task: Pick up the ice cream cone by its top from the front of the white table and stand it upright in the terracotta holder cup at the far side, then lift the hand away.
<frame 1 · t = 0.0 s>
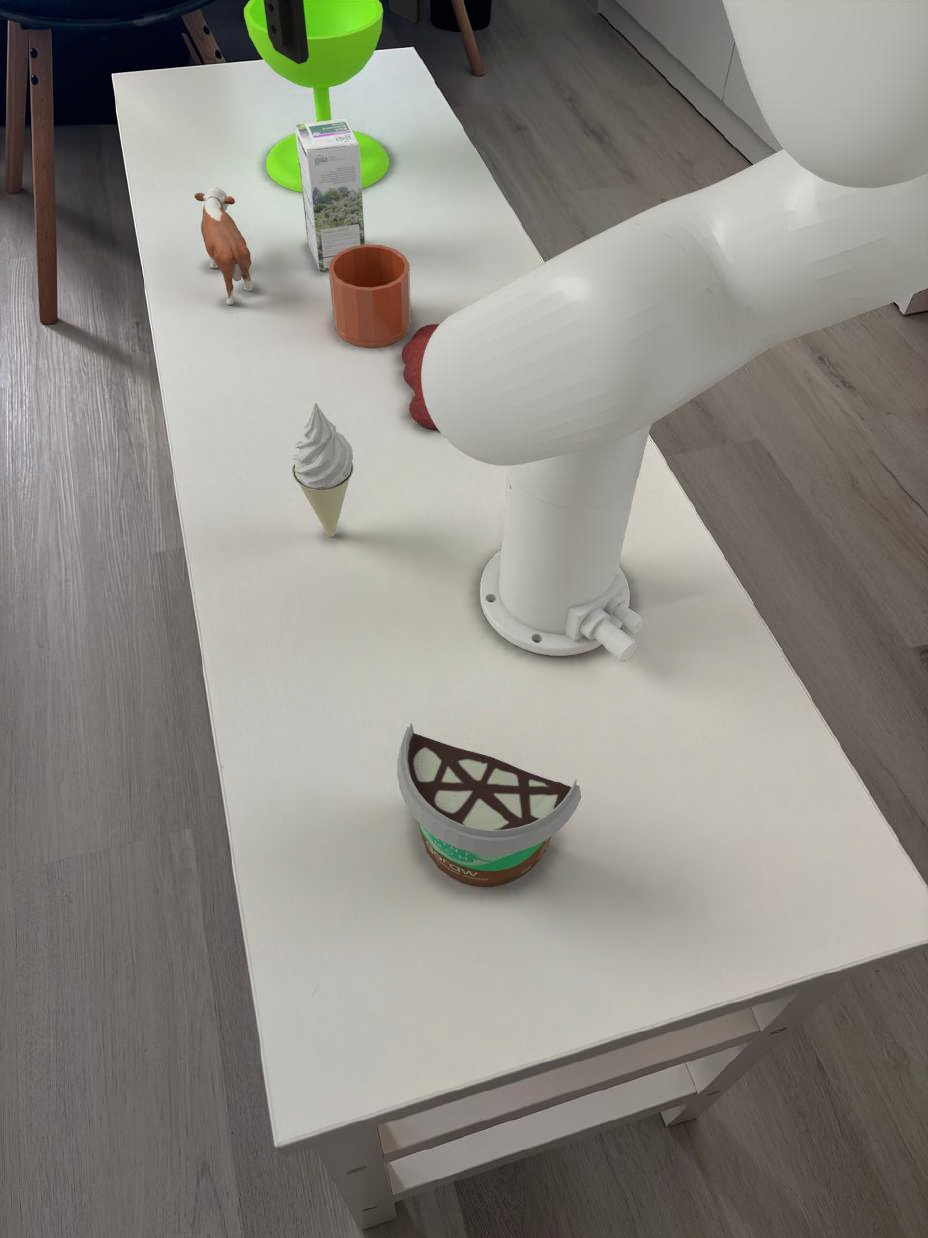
hand: (350, 35, 65), 37 cm above the table, tool pointing down, fingers open, 9 cm apart
ice cream cone: (331, 536, 87), on the table
wineglass: (328, 164, 127), on the table
holder cup: (372, 324, 106), on the table
bull figurine: (231, 279, 111), on the table
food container: (471, 859, 69), on the table
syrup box: (337, 257, 114), on the table
patty: (471, 381, 101), on the table
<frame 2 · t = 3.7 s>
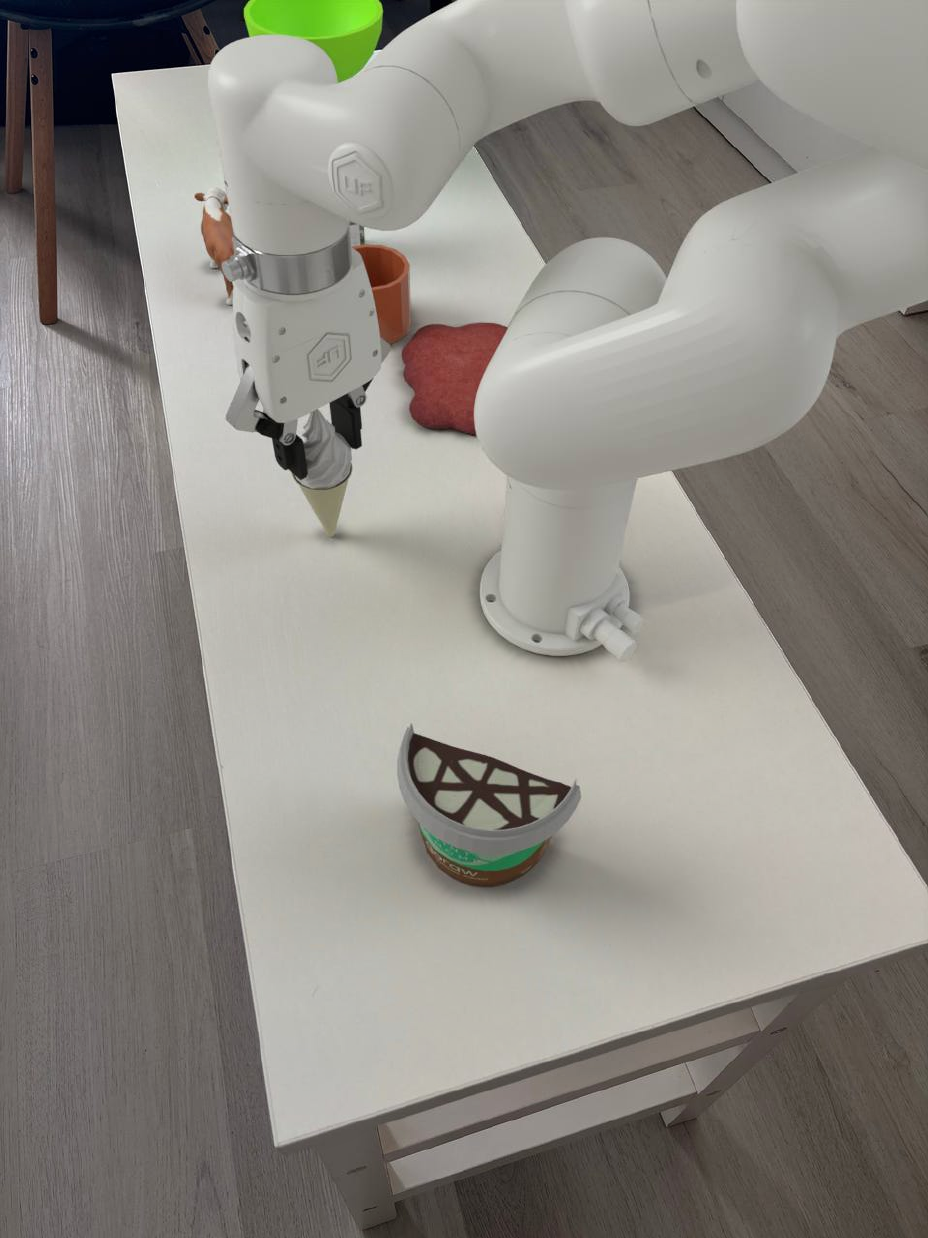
hand: (320, 452, 79), 10 cm above the table, tool pointing down, fingers closed on ice cream cone, 4 cm apart
ice cream cone: (331, 536, 87), on the table, touching gripper
everything else where it was.
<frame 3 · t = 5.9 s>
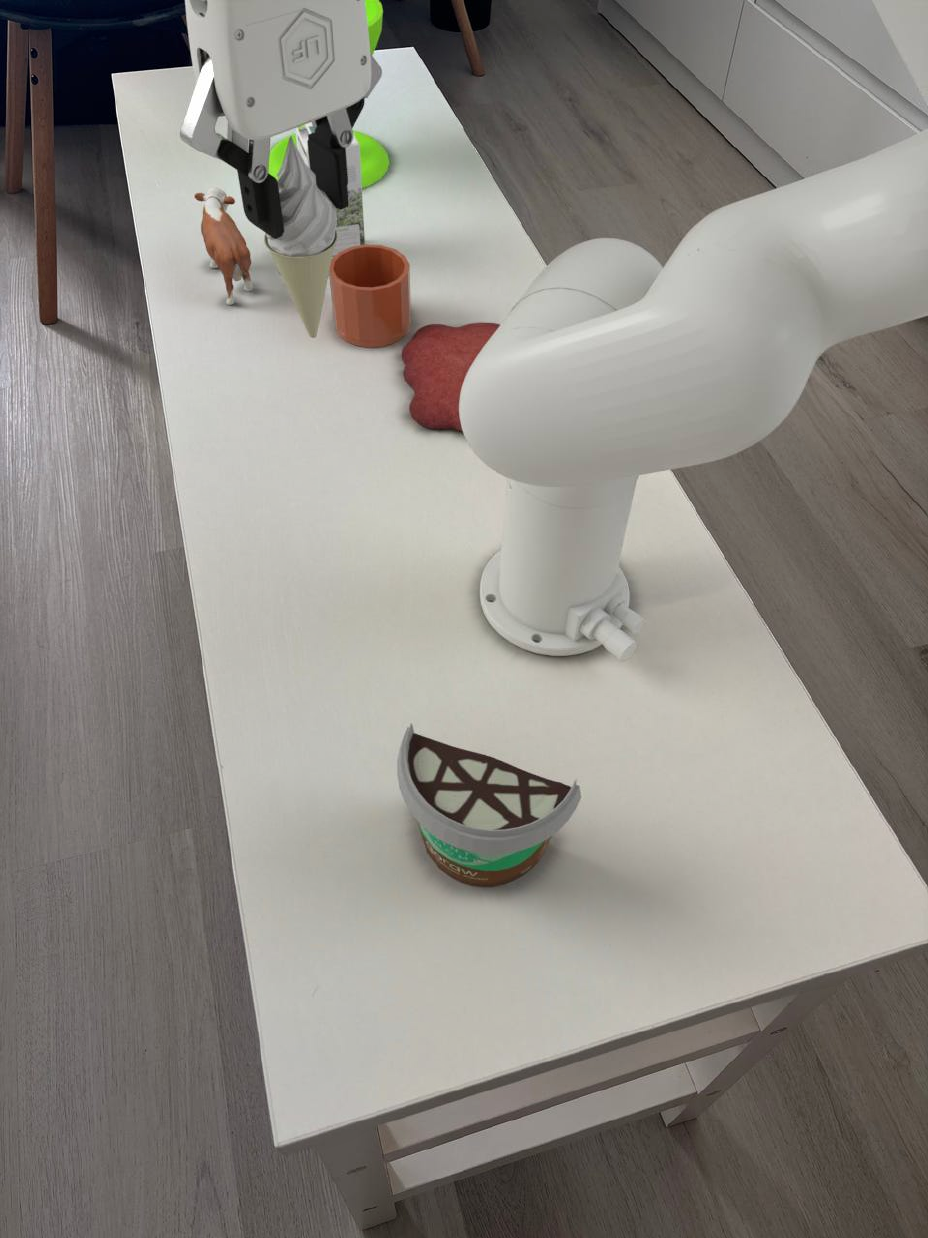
hand: (299, 211, 66), 29 cm above the table, tool pointing down, fingers closed on ice cream cone, 4 cm apart
ice cream cone: (313, 338, 73), point 19 cm above the table, touching gripper
everything else where it was.
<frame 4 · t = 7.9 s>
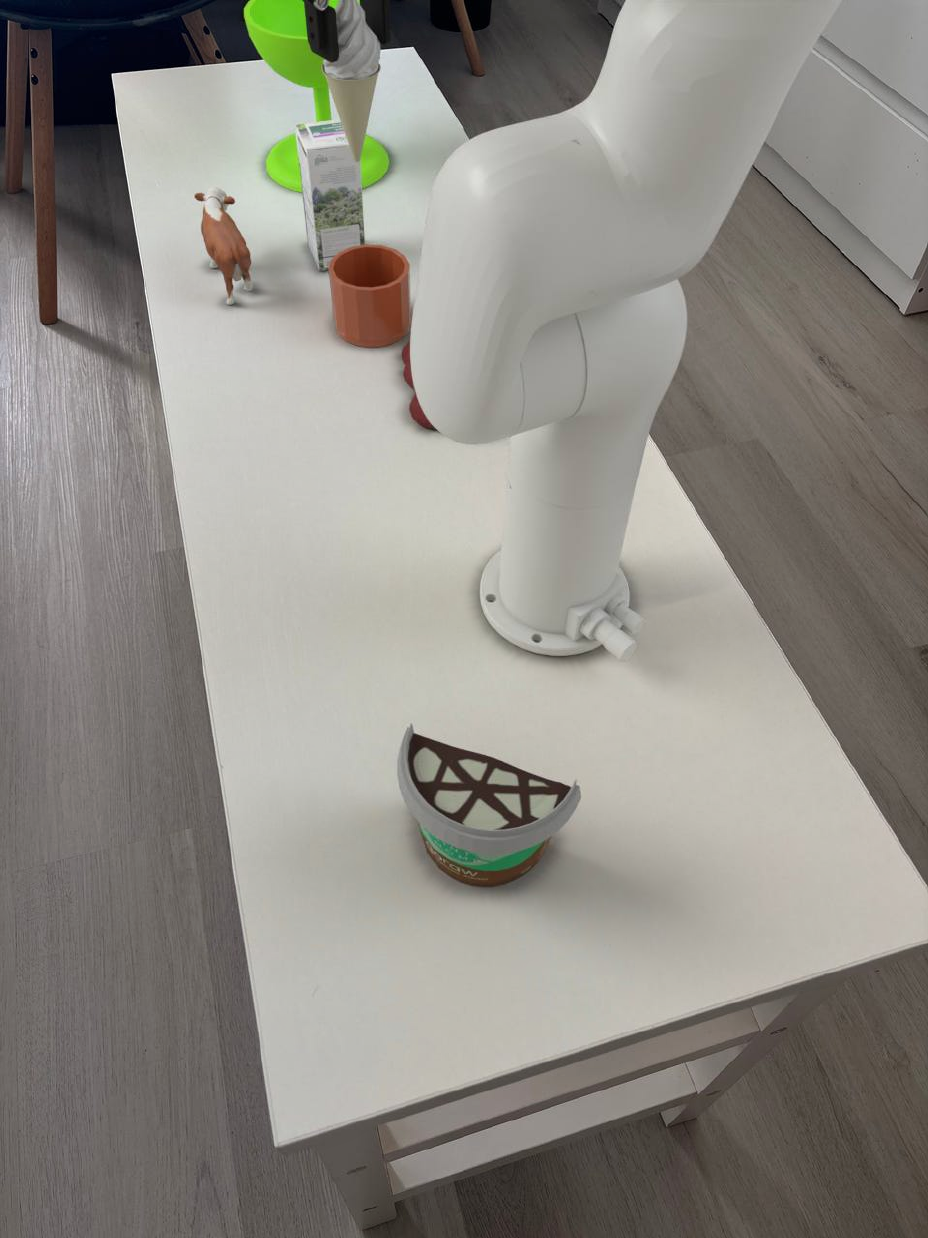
hand: (350, 44, 82), 29 cm above the table, tool pointing down, fingers closed on ice cream cone, 4 cm apart
ice cream cone: (357, 162, 90), point 19 cm above the table, touching gripper
everything else where it was.
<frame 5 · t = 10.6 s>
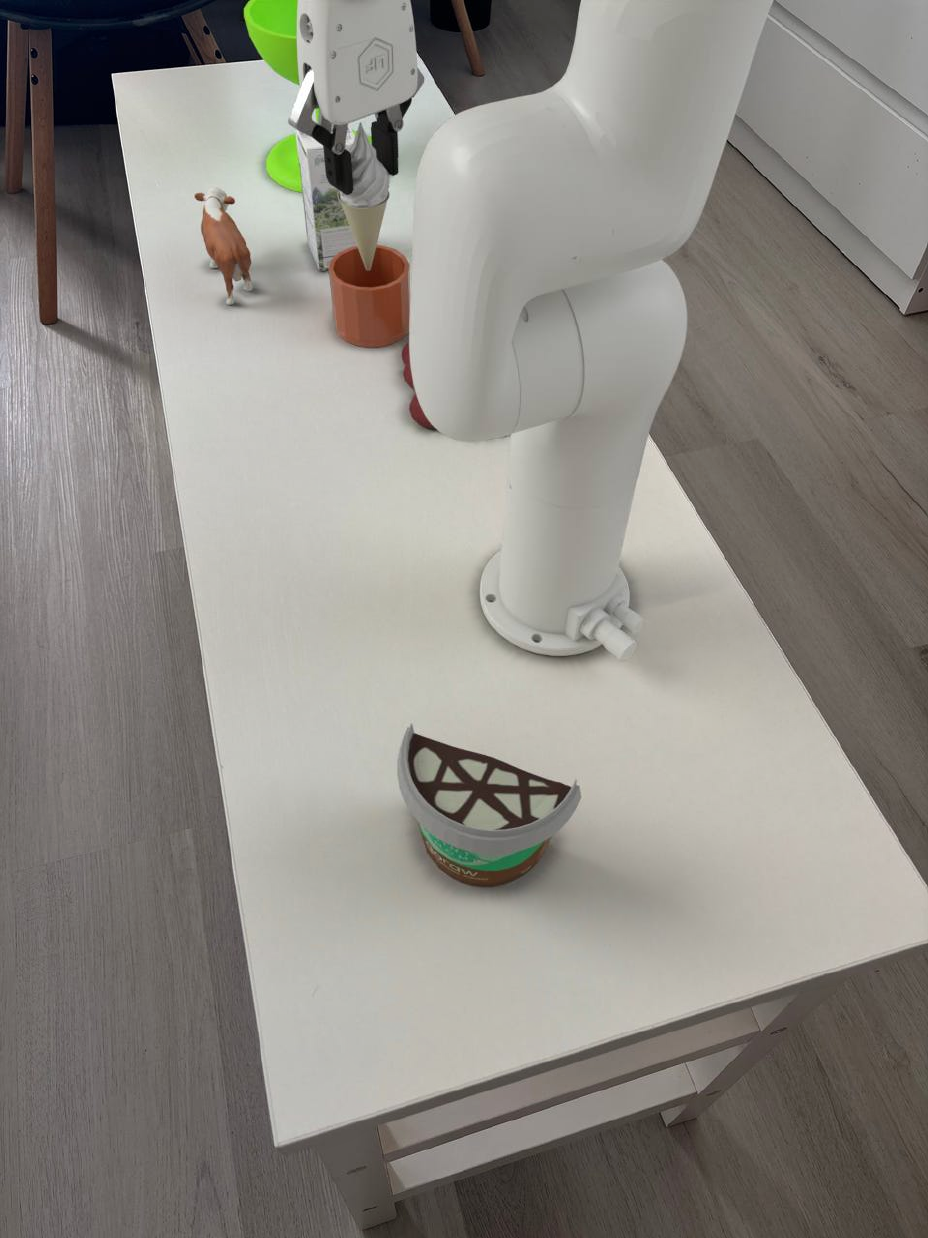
hand: (363, 176, 93), 16 cm above the table, tool pointing down, fingers closed on ice cream cone, 4 cm apart
ice cream cone: (368, 270, 101), point 6 cm above the table, touching gripper
everything else where it was.
when the fingers open (11 cm above the table, at t = 12.5 s): ice cream cone stays where it is, resting on holder cup.
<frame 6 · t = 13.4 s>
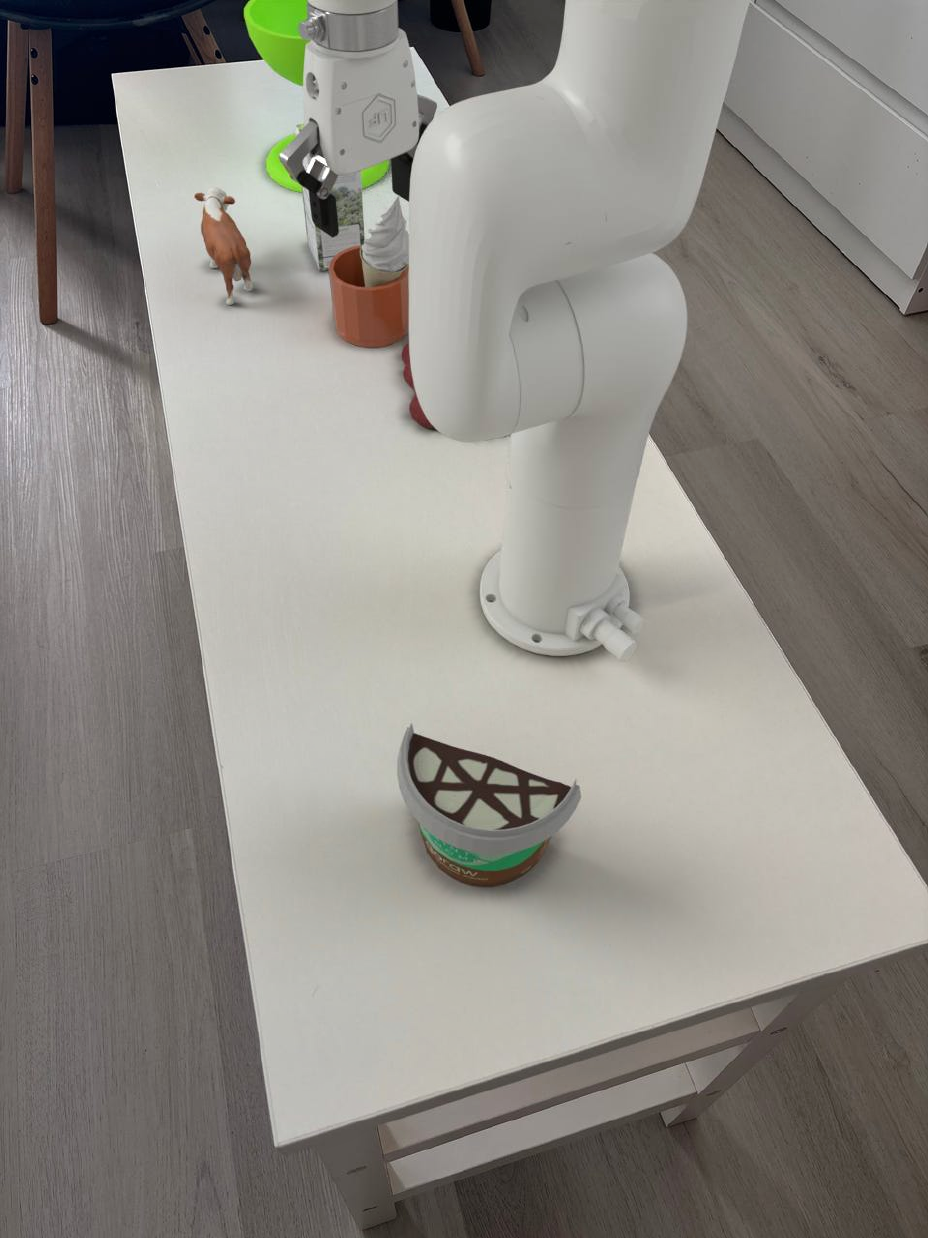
hand: (366, 213, 96), 13 cm above the table, tool pointing down, fingers open, 9 cm apart
ice cream cone: (371, 319, 105), point 1 cm above the table, touching holder cup
everything else where it was.
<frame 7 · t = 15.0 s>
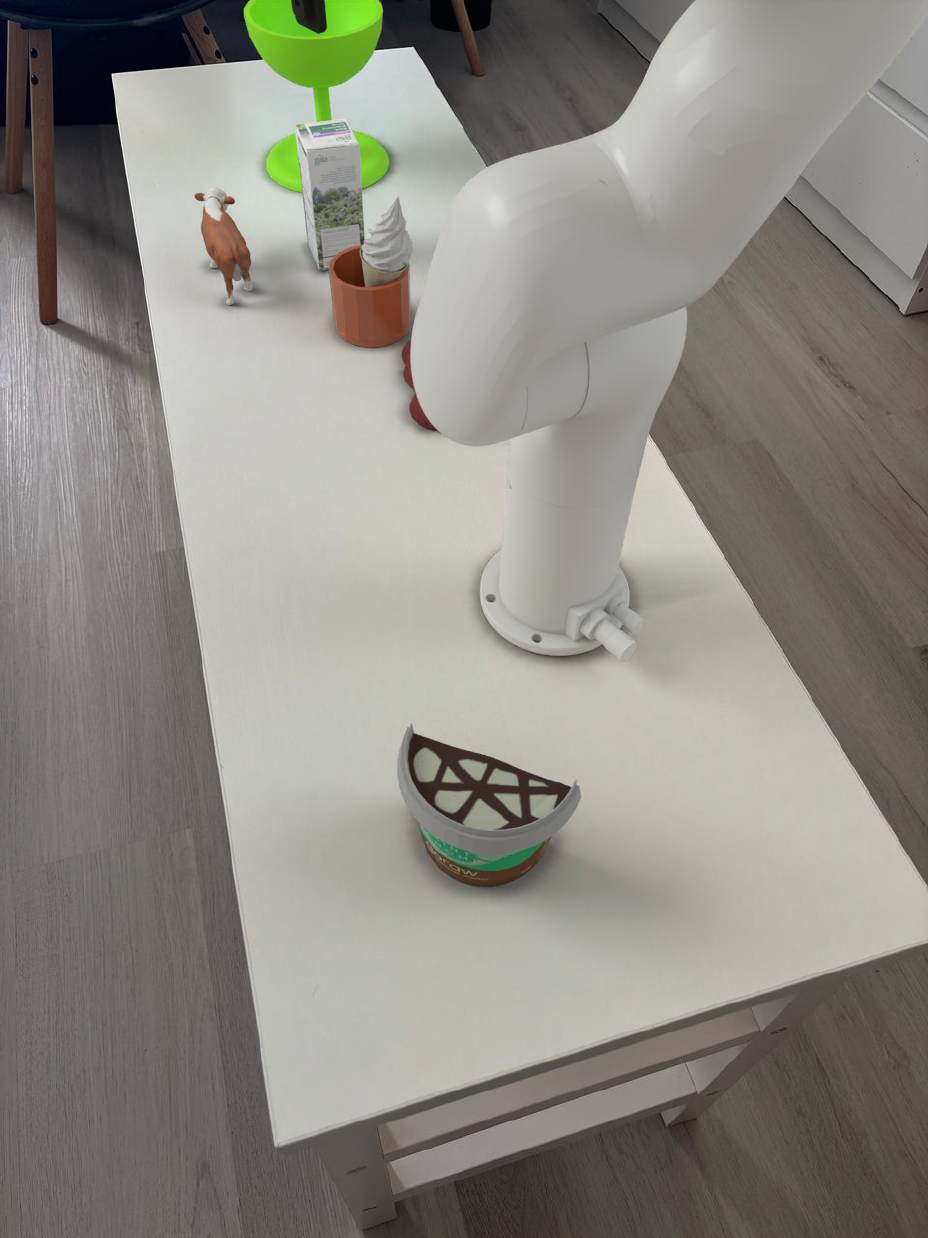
hand: (363, 11, 75), 34 cm above the table, tool pointing down, fingers open, 9 cm apart
nothing on the table moved.
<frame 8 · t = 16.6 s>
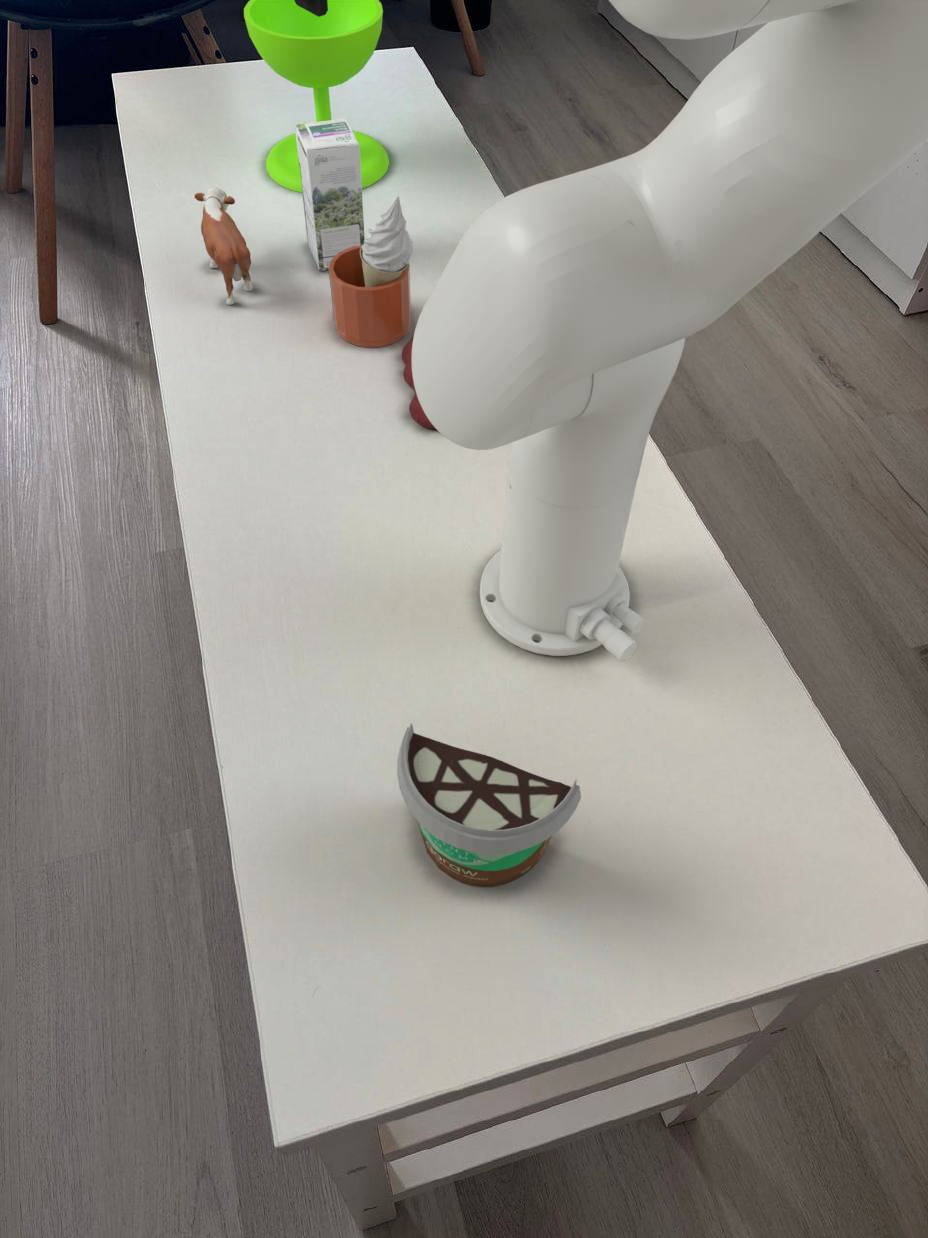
nothing on the table moved.
at the end: ice cream cone 0.1 cm off-centre in the holder cup, point 0.7 cm above the holder cup's base; ice cream cone tilted 14°; the gripper is holding nothing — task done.
